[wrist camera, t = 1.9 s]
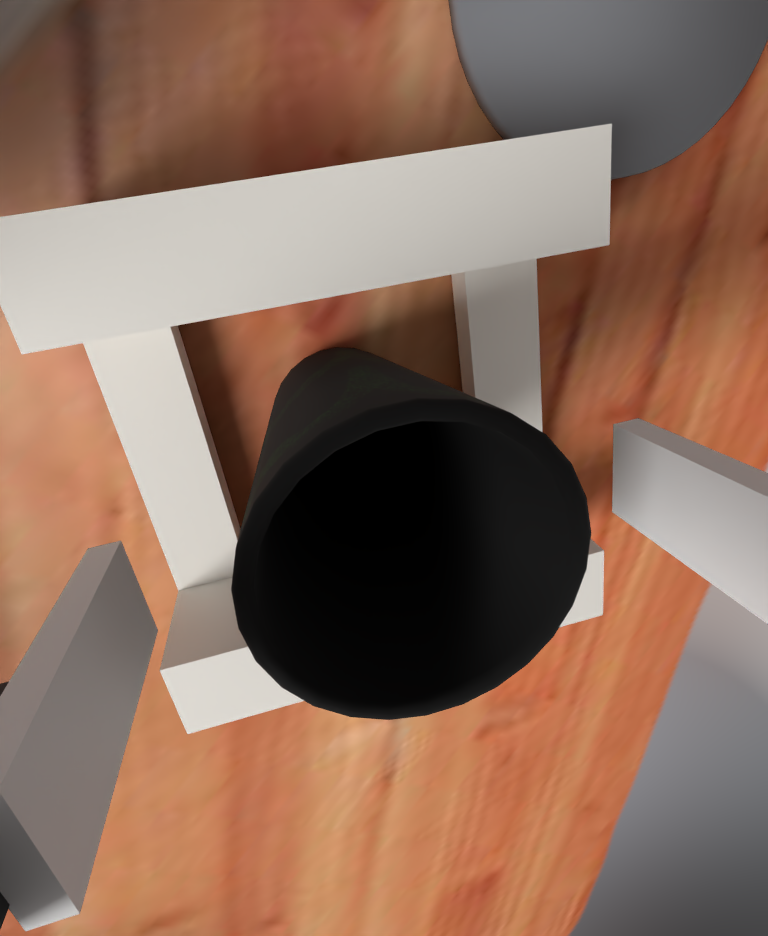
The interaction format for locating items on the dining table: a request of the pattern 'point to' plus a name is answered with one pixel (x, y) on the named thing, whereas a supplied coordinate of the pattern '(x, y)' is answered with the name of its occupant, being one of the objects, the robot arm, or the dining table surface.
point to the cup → (402, 541)
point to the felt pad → (610, 68)
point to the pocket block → (283, 283)
